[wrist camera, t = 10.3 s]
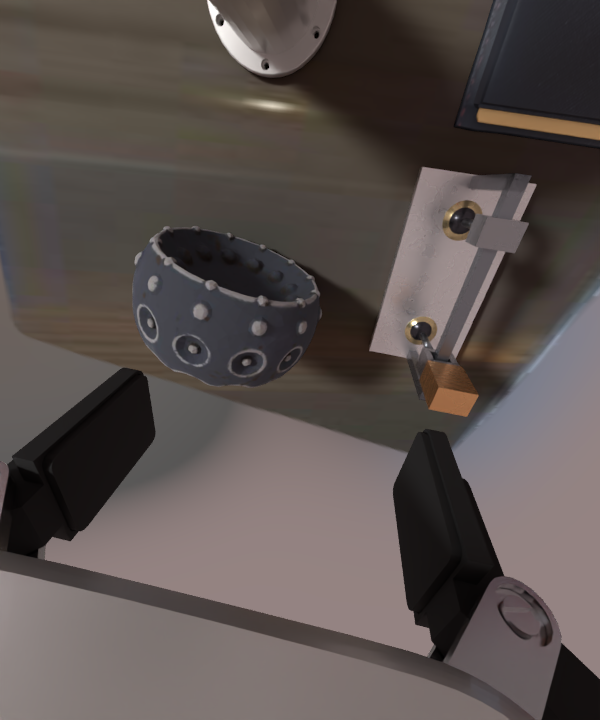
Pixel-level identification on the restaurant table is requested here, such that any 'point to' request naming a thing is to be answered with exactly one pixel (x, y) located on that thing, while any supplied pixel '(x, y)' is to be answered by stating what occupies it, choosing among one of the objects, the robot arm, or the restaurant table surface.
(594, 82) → the dark grey flat slab
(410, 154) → the restaurant table surface
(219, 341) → the ring
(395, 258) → the switch panel
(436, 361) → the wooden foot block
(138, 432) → the robot arm
